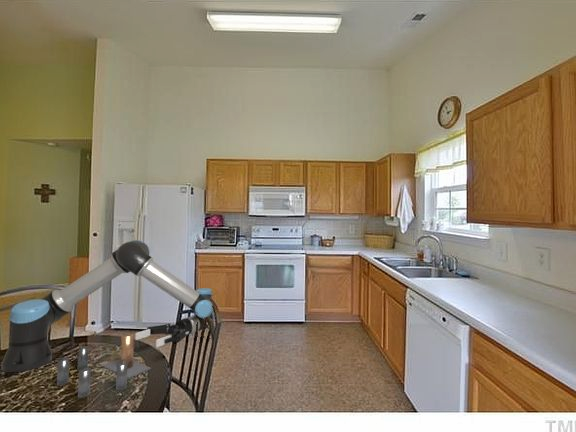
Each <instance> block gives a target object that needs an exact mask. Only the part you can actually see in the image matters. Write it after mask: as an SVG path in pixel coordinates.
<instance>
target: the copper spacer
mask: <svg viewBox="0 0 576 432" xmlns="http://www.w3.org/2000/svg"><path fill="white" fill-rule="evenodd" d="M134 346H135V333H134V332H127V333H123V334H121V336H120V355H119V356H120V358H119V359H120V362H127V363H128V365H127V369H129V368H131V367H132V366H133V361H134V349H135V347H134Z"/></svg>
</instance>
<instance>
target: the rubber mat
mask: <svg viewBox="0 0 576 432" xmlns="http://www.w3.org/2000/svg"><path fill="white" fill-rule="evenodd" d="M118 363H120V358H119V359H116V360H113V361H111V362H107V363H105V364H102V365H101V368H104V369H106V370H108V371H110V372H112V373H114V374H116V372H117V364H118ZM151 369H152V368H151V367H150V366H147V365H145V364H143V363H140V362H138V361H135V360H133V366H132V367H131V368H129V369H127V380H128V379H131V378H133V377H136V376H137V375H138V376H139V375H140V374H143V373H145V372H147V371H150V370H151Z"/></svg>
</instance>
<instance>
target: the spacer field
mask: <svg viewBox="0 0 576 432" xmlns="http://www.w3.org/2000/svg"><path fill="white" fill-rule="evenodd" d="M89 348H90V347H89V345H83V346H79V347H78V349H77V350H78V351H77V371H78V382H77V383H78V385H77V398H79V399H84V398H87V397H89V396H90V395H91V377H92V376H91V375H92V369H91V367H89V365H88V364H89ZM127 365H128V363H127V362H120V363H118V364H117V372H116V373H115V374H116V376H115V377H116V378H115V390H116V391H124V390H126V389H127V385H128V383H127V382H128V378H127ZM56 371H57V375H56V386H64V385H67V384H68V383H69V376H70V375H69V374H70V373H69V372H70V357H63V358H62V357H61V358H59V359H57V370H56Z"/></svg>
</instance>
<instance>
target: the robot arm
mask: <svg viewBox="0 0 576 432" xmlns="http://www.w3.org/2000/svg"><path fill="white" fill-rule="evenodd" d="M150 251H151V250H150V247H149V246H148V245H147V243H146V242H144V241H142V240H137V239H135V240H134V239H133V240H131V241H126V242H124V243H122V244H121V245H119V247H118V249H116V250H114V251H113V252H111V253H110V254H111V255H110V257H109V258H108V259H107V260H104V262H102V263H101V264H99V265H98V266H96V267H93V269H91V270H89V272H86V273H85V274H83V275H82V276H80V277H78V278H77V279H76V280H74V281H72V282H71V283H70V284H68V285H67V286H65V287H63V288H62V289H54V290H53V291H51V292H50V293H48V294H47V295H45V296H43V297H41V298H39V299H30V300H25V301H21V302H19V303H17V304H15V305H13V306H12V307H11V309H10V314H9V331H8V347H7V349H6V351H5V354H4V356H3V358H2V361H1V366H0V370H1V372H3V373H20V372H26V371H30V370H34V369H38V368H41V367H43V366H45V365H48V364H49V363H50V362H52V359H53V352H52V349H51V346H50V344H49V341H48V335H49V333H48V332H49V327H50V326H51V325H53V324H54V323H56V322H58V321H60V320H61V319H62V318H64V317H65V316H66V315H68V314H69V313H71V312H72V311H73V310H74V306H75V305H77V304H79V302H81V301H82V300H83V299H85V298H87V297H88V296H90V295H91V294H93V293H95V292H96V291H97V290H99V289H100V288H102V287H104V286H105V285H106V284H108V283H110V282H111V281H112V280H114V279H116V278H117V277H119V276H120V275H122V274H129V273H132V274H133V275H135V276H137V277H140V276H141V277H143V278H144V279H145V280H147V281H149V282H150V283H151V284H153V285H154V286H156V287H158V289H160V290H162V291H163V292H165V293H167V294H168V295H169V296H171V297H172V298H174V299H175V300H177V301H179V303H181V304H183V305H184V306H186V307H188V309H190V310H192V311H193V312H194V313H195V314H193V315H192V316H188V317H185V318H182V319H179V320H177V322H176V323H175V324H172V325H171V323H165V324H161V325H154V326H147V328H146V329H144V330H142V331H138V332H135V333H134V341H137V340H141V339H144V338H147V337H150V336H151V335H160V334H161V335H162V334H165V335H167V336H164V337H161V338H158V339H155V348H160V347H161V346H165V345H166V344H170V343H177V344H178V343H180V342H181V341H182V340H183V339H184V338H186V337H187V336H189V335H193V334H194V333H196V324H197V322H198V331H197V332H199V331H202V330H206V329H208V328H210V327H208V325H207V324H206V326H205V329H203V325H204V319H203V318H206V317H208V316H210V318H211V319H212V321H214V314H215V312H213V310H214V305H213V301H212V302H211V301H210V299H212V300H213V298H212V297H213V294H212V293H213V292H212V291H213V290H212V289H211V288H208V287H202V288H201V287H200V288H197V289H194V288H193V287H191V286H190V285H188V284H187V283H185V282H184V281H183V280H181V279H180V278H178V277H177V276H175V275H174V274H173V273H172V272H170V271H168V270H167V269H165V268H164V267H162V266H161V265H159V264H158V263H157V262H156V261H154V260H153V257H152V256H151V255H150ZM209 298H210V299H209ZM212 306H213V307H212Z"/></svg>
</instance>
